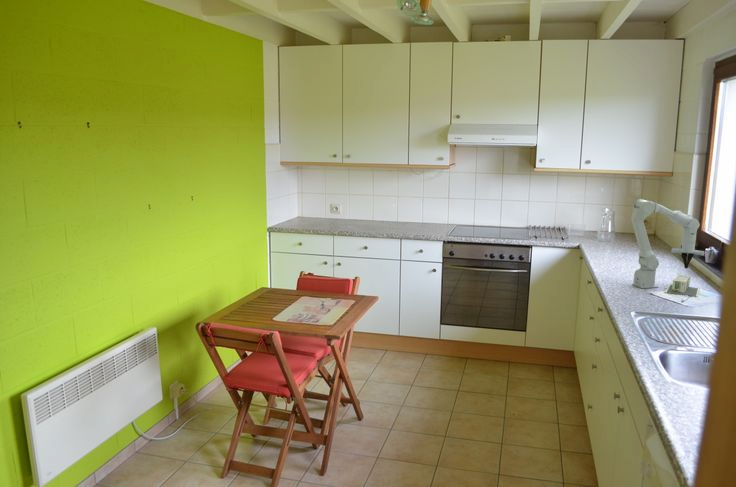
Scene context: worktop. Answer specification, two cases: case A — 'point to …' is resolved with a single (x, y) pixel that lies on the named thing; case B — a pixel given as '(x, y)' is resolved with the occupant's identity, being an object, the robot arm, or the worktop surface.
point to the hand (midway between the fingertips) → (686, 268)
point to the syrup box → (681, 283)
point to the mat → (690, 292)
